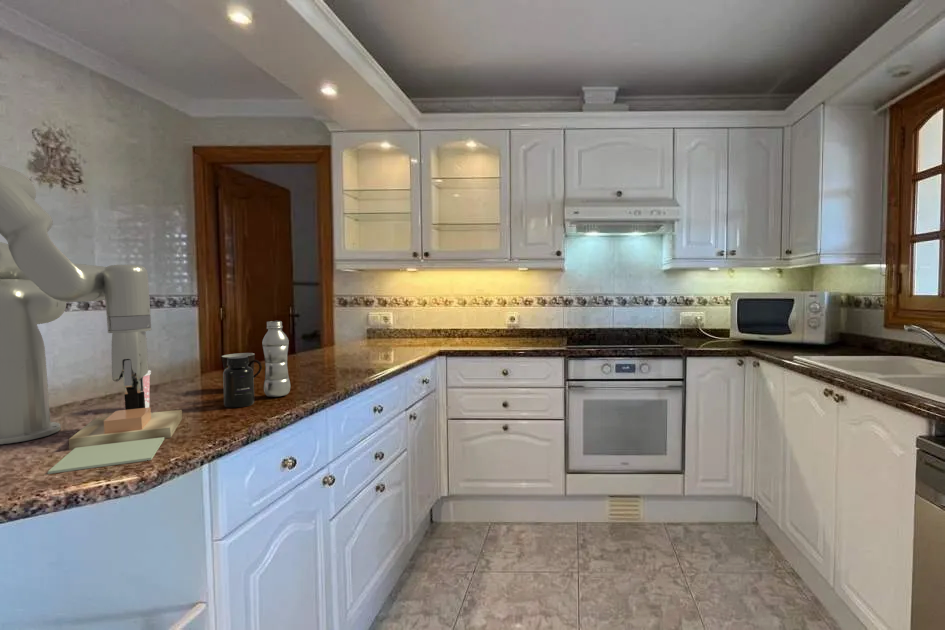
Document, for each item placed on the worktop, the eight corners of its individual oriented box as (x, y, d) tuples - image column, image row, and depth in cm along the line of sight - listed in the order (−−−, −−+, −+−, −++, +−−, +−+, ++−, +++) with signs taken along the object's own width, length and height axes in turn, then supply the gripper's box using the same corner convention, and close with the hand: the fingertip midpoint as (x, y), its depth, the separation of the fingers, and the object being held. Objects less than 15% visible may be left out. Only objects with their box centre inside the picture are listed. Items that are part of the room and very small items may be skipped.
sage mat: (47, 474, 79) (47, 471, 79) (75, 450, 91) (75, 447, 91) (151, 460, 84) (151, 457, 84) (164, 439, 96) (164, 437, 96)
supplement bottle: (242, 408, 120) (240, 359, 119) (218, 408, 121) (215, 359, 120) (260, 402, 126) (258, 355, 126) (236, 401, 128) (234, 355, 127)
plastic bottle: (265, 395, 135) (261, 321, 134) (291, 392, 137) (288, 320, 136) (262, 400, 129) (259, 323, 128) (290, 397, 131) (287, 321, 130)
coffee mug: (219, 390, 143) (217, 355, 143) (249, 385, 149) (248, 352, 149) (233, 395, 135) (231, 359, 134) (265, 390, 141) (263, 355, 140)
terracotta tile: (104, 433, 94) (103, 421, 94) (116, 422, 102) (116, 410, 102) (142, 429, 96) (141, 417, 96) (151, 418, 104) (150, 407, 104)
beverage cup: (158, 404, 126) (154, 349, 125) (143, 410, 120) (140, 353, 119) (133, 405, 126) (129, 350, 125) (117, 411, 120) (113, 353, 119)
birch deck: (69, 450, 91) (68, 439, 91) (95, 427, 106) (94, 418, 105) (170, 437, 97) (170, 427, 97) (182, 418, 112) (181, 409, 112)
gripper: (116, 323, 109) (122, 406, 110) (97, 328, 95) (104, 422, 96) (156, 321, 112) (162, 402, 113) (144, 325, 98) (150, 417, 99)
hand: (135, 411), depth 105 cm, fingers closed
